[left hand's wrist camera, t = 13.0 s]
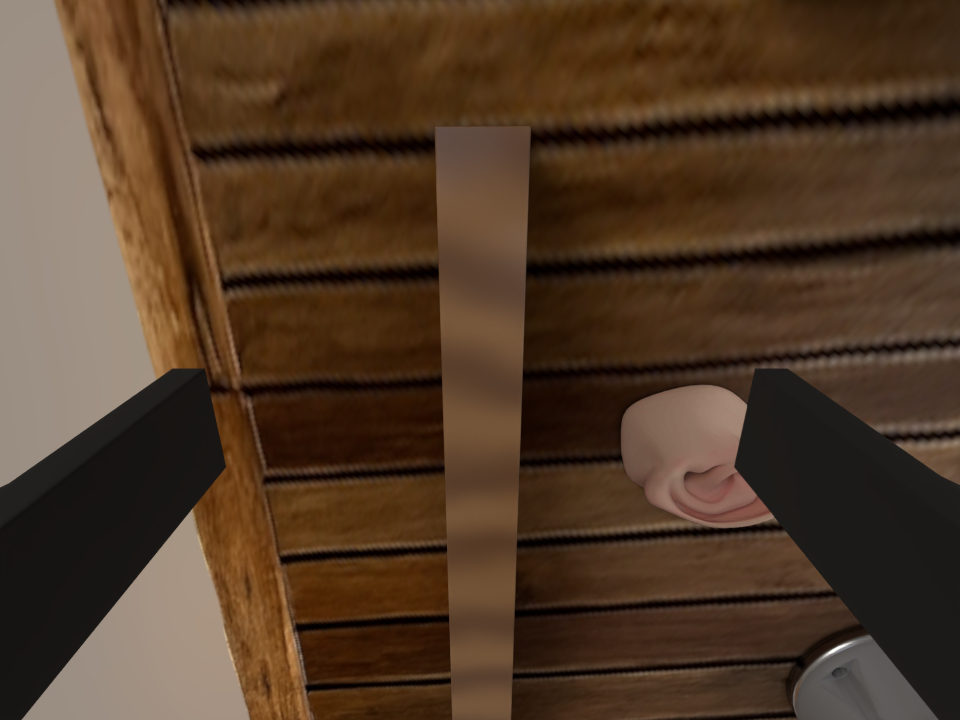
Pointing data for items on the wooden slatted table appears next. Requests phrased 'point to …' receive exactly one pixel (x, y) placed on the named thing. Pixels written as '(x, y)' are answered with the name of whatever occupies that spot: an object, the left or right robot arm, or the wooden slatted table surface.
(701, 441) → the anatomical model
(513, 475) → the bar
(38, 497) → the left robot arm
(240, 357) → the wooden slatted table surface
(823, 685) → the right robot arm
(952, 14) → the wooden slatted table surface
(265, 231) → the wooden slatted table surface
